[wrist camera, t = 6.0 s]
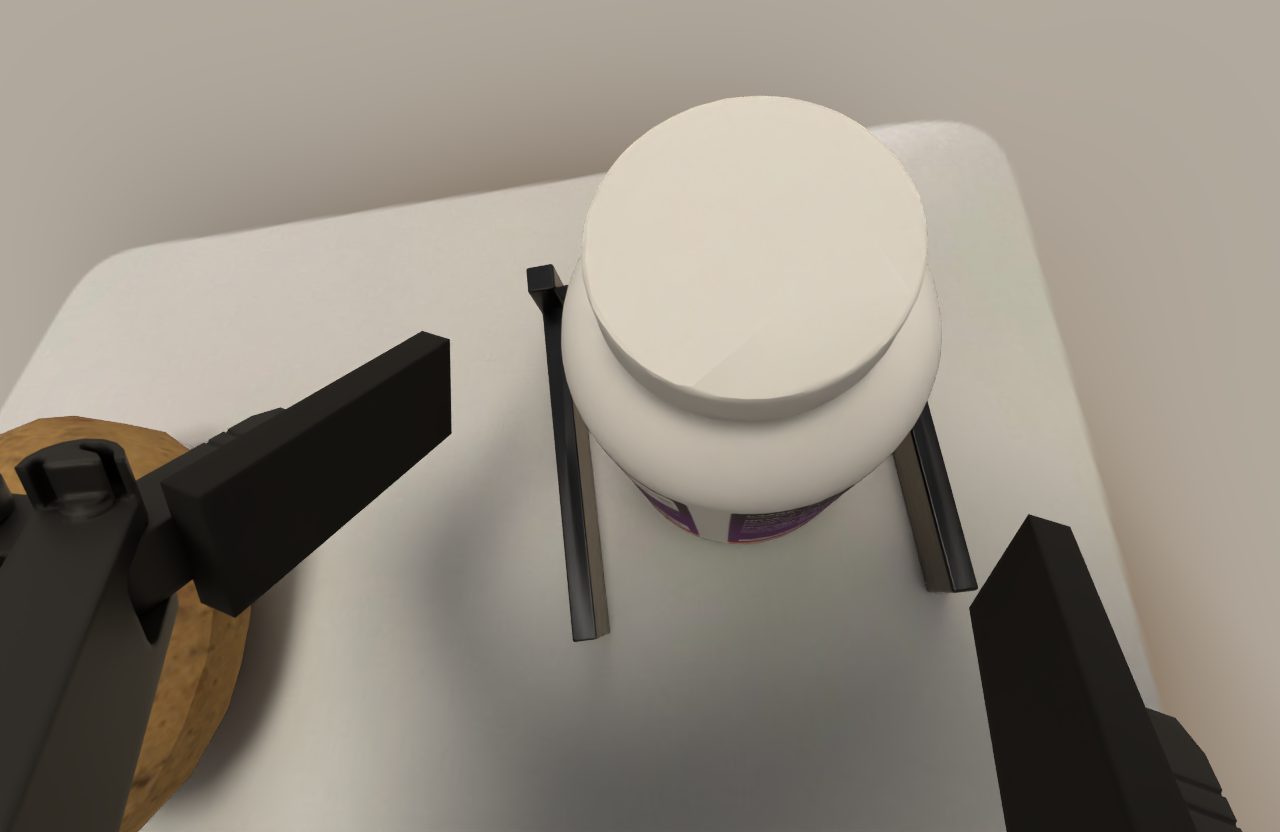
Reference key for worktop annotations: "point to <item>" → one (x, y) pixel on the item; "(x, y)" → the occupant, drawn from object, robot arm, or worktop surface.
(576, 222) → the worktop surface
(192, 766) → the potato
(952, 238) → the worktop surface
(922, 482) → the u-shaped frame
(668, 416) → the pill bottle
